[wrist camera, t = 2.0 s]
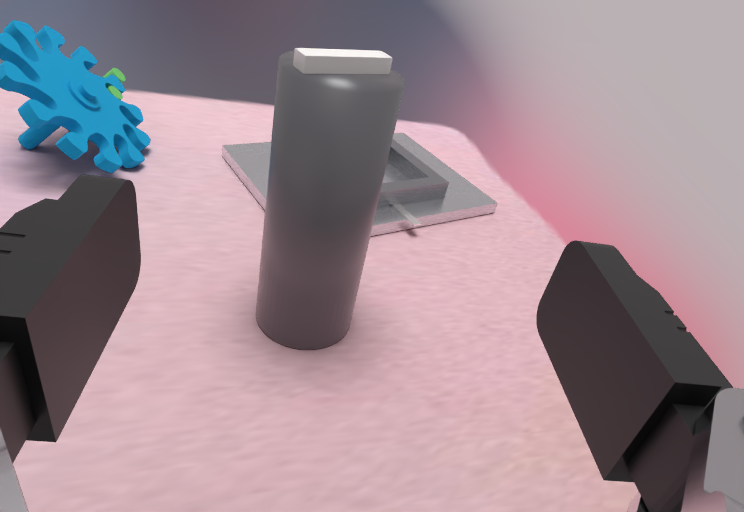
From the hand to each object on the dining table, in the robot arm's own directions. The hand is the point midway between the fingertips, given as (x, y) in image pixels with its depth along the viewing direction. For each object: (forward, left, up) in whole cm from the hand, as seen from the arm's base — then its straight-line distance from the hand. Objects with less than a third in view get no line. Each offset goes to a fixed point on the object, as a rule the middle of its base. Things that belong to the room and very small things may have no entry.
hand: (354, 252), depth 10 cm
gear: (-1, +29, -12) cm, 32 cm away
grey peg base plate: (+15, +21, -12) cm, 29 cm away
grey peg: (+5, +10, -12) cm, 16 cm away
